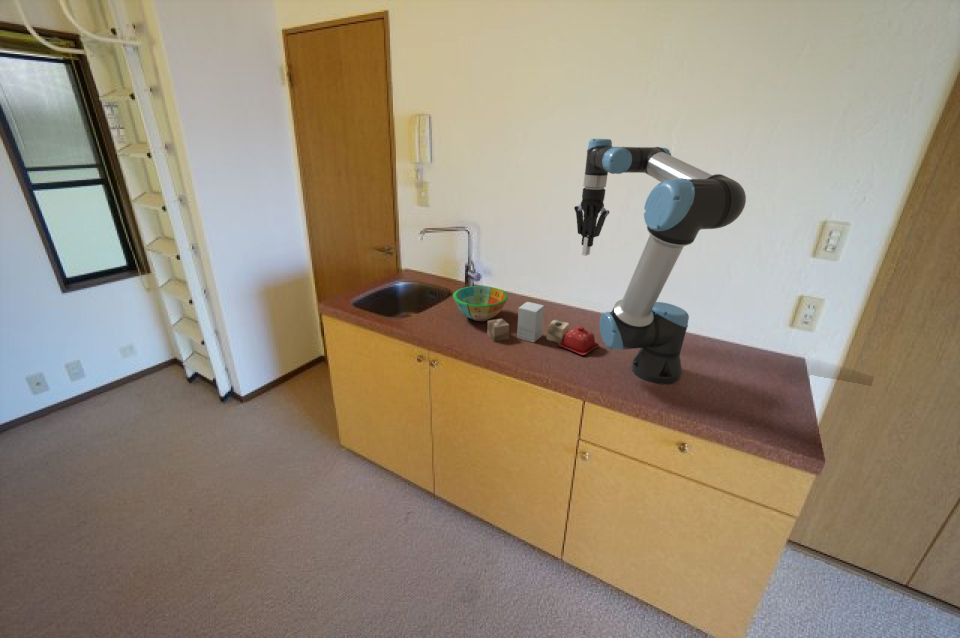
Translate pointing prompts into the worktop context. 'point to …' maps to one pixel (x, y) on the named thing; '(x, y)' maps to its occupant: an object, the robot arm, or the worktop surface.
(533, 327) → the supplement box
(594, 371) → the worktop surface
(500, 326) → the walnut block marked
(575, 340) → the butter dish
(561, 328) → the beech block marked
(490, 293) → the bowl
